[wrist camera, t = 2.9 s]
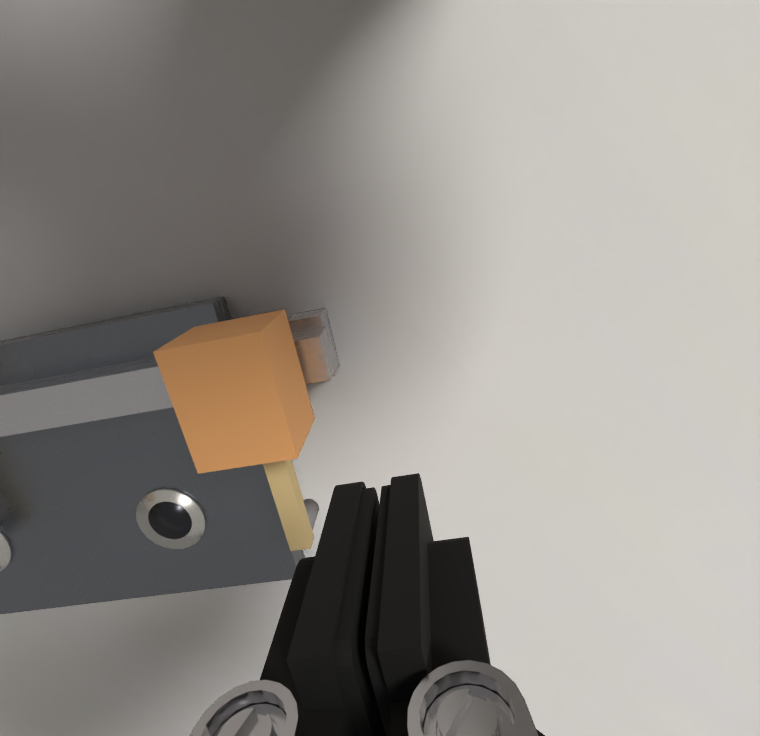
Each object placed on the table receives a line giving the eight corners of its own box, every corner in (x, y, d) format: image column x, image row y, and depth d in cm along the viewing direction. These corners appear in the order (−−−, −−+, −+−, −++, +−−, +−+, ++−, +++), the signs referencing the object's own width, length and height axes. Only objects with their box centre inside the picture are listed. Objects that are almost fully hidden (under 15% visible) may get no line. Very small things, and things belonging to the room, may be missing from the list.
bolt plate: (322, 277, 24) (286, 310, 17) (388, 549, 29) (380, 655, 22) (-153, 371, 27) (-335, 429, 21) (-20, 600, 32) (-132, 705, 26)
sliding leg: (294, 300, 22) (260, 331, 17) (349, 510, 25) (333, 584, 20) (209, 317, 22) (152, 352, 18) (274, 520, 26) (242, 595, 21)
